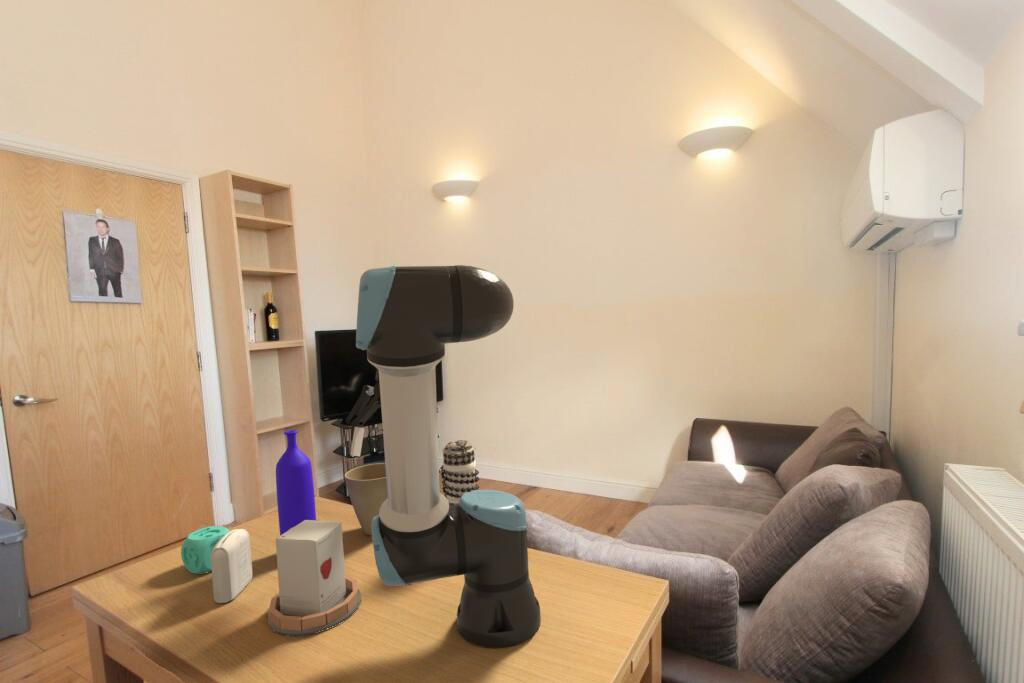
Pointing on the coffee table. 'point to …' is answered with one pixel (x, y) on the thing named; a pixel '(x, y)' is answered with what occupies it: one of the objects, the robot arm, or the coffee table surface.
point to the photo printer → (231, 565)
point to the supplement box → (310, 567)
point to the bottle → (294, 486)
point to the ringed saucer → (315, 621)
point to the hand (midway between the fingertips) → (380, 458)
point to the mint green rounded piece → (201, 548)
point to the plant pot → (367, 492)
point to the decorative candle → (458, 470)
